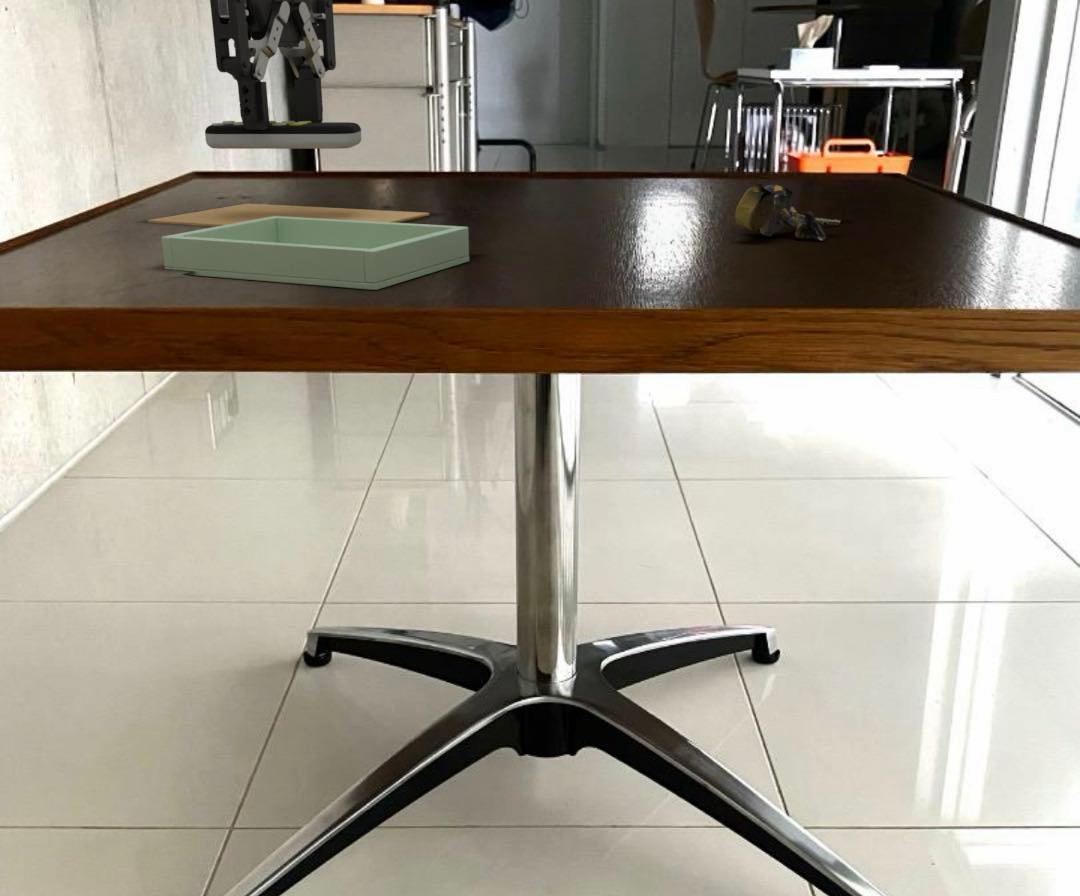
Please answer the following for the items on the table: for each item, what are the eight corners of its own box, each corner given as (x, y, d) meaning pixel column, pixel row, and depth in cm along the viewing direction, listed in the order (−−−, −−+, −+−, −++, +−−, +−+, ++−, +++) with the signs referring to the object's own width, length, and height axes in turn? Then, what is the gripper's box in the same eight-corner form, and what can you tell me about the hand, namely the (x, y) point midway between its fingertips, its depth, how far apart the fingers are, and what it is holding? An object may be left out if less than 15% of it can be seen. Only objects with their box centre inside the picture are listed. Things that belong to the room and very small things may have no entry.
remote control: (353, 149, 102) (351, 123, 102) (202, 149, 103) (199, 124, 102) (364, 144, 108) (363, 120, 107) (221, 144, 108) (219, 120, 108)
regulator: (801, 230, 107) (700, 214, 96) (822, 186, 105) (721, 166, 94) (869, 267, 103) (771, 256, 92) (891, 223, 101) (794, 206, 90)
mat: (148, 225, 106) (147, 220, 105) (247, 208, 117) (247, 203, 117) (344, 238, 98) (344, 231, 98) (429, 218, 110) (429, 212, 110)
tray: (164, 273, 82) (160, 236, 81) (276, 248, 93) (273, 215, 92) (376, 290, 76) (374, 251, 75) (469, 261, 87) (468, 226, 86)
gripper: (281, -78, 106) (296, 122, 112) (171, -95, 94) (194, 130, 100) (355, -82, 103) (366, 123, 109) (251, -100, 91) (270, 132, 97)
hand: (284, 126), depth 105 cm, fingers closed on remote control, 7 cm apart
